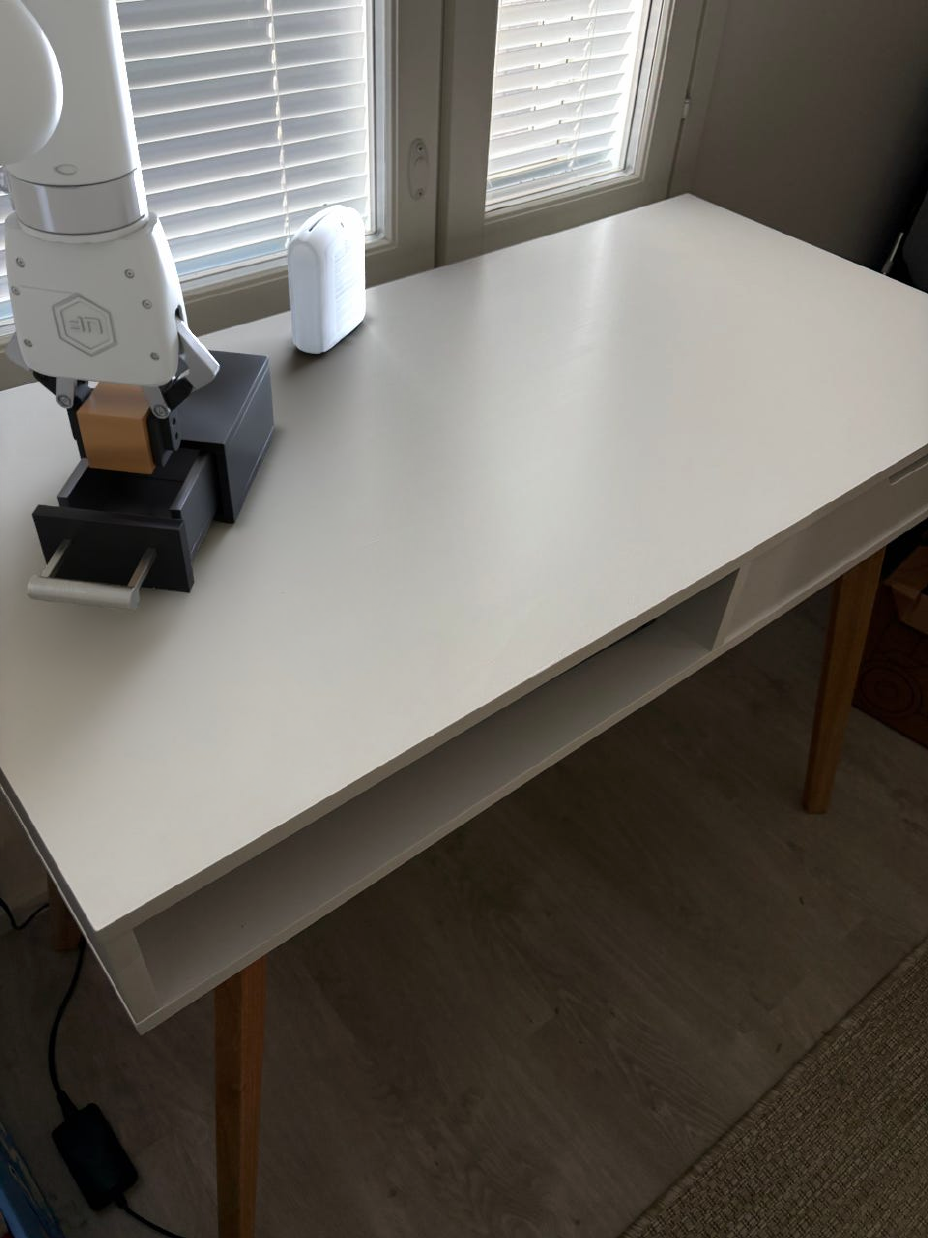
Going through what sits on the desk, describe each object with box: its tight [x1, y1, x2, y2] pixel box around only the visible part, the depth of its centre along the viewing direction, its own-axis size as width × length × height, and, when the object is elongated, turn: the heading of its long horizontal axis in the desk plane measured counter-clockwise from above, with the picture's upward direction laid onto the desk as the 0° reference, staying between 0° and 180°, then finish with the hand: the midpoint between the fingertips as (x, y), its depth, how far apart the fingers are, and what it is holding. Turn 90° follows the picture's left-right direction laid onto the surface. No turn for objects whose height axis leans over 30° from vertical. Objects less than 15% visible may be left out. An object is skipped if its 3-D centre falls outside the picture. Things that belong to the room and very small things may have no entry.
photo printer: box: [286, 205, 366, 355], centre depth 100 cm, size 10×4×12 cm, turn 157°
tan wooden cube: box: [77, 382, 156, 474], centre depth 72 cm, size 4×4×4 cm
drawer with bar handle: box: [26, 448, 222, 612], centre depth 74 cm, size 18×10×6 cm, turn 174°
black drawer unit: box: [75, 349, 276, 525], centre depth 83 cm, size 14×12×8 cm
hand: (129, 449), depth 73 cm, fingers closed on tan wooden cube, 4 cm apart
